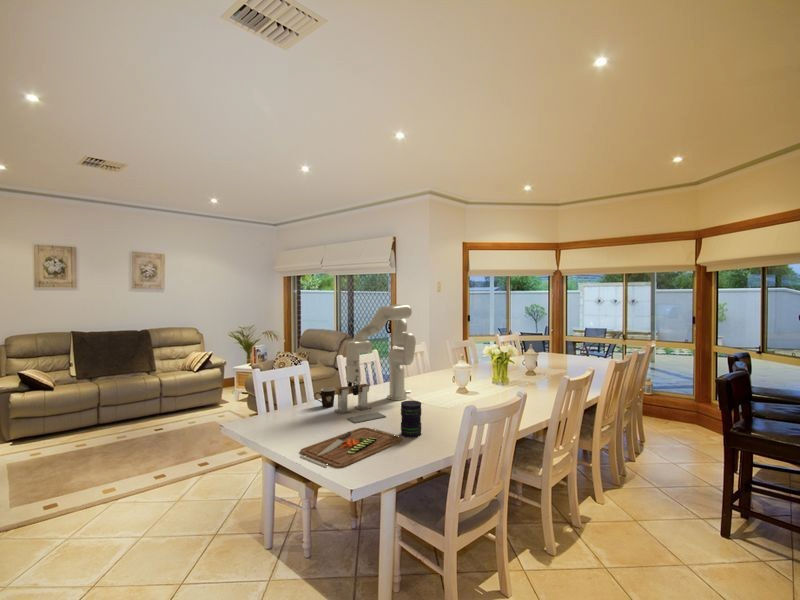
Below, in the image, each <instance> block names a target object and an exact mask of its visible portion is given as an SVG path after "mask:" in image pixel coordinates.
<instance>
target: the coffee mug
mask: <svg viewBox="0 0 800 600" xmlns="http://www.w3.org/2000/svg"><path fill="white" fill-rule="evenodd" d="M317 394H319V395H320V397H321V400H320V399H319V398H317V397H316V395H317ZM335 394H336V388H332V387H324V388H323V387H322V388H321V389H320V392H315V393H314V395H313V397H314V398H315V400H317V402H320V403H321V406H322V408H326V409H328V408H329V409H330V408H333V407H334V404H335V396H336V395H335Z"/></svg>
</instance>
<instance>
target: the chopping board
mask: <svg viewBox="0 0 800 600" xmlns="http://www.w3.org/2000/svg"><path fill="white" fill-rule="evenodd" d="M394 435H395V436H394ZM398 436H399V437H398ZM402 440H404V439H403V438H402V437H400V435H398V434H395V433H391V432H388V431H385V430H381V429H378V428H371V427H370V428H369V427H358V428H357V429H353V430H350V431H347V432H345V433H341V434H339V435H336V436H334V437H331V438H328V439H325V440H322V441H319V442H317V443H314V444H312V445H309V446H305V447H303V448H301V449H300V452H299V453H300V454H301V455H300V456H299V458H301V459H303V460H306V461H308V462H311V463H313V464H315V465H318V466H320V467H322V468H325V469H326V468H328V466H331V467H333V468H337V469H343V468H347V467H349V466H352V465H353V464H355V463H358V462H360V461H362V460H365V459H367V458H369V457H372V456H374V455H375V454H377V453H380V452H383V451H385V450H387V449H389V447H390V448H392V447H393V445H394V446H396V445H398V444H397V443H399V444H401V443H402V442H403V441H402ZM400 442H401V443H400ZM395 444H396V445H395ZM391 446H392V447H391ZM313 459H314V460H313ZM315 460H316V461H315ZM317 461H318V462H317ZM322 463H323V464H322Z"/></svg>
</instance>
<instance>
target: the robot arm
mask: <svg viewBox="0 0 800 600" xmlns="http://www.w3.org/2000/svg"><path fill="white" fill-rule="evenodd" d="M412 312H413V310H412V307H411V306H410V305H408V304H391V305H389V306H386V305H385V306H384V305H383V306H380V307H379V308H378V310H377V311H376V313H375V314H374V316H373V317H372V318H371V320H370V322H369V323H368V324H367V325H365V326H364V327H362V328H361V329H359V331H357V333H356V334H355V335H354V337H353V338H352V340H350V341H347V342H346V344H345V345H346V346H345V347H346V348H345V352H346V355H345V358H346V359H345V360H346V361H345V362H346V363H345V364H346V370H345V380H346V385H347V386H353V387H354V388H353V394H352V395H353V396H358V388H359V385H361V382H362V377H361V367H360V354H369V353H371V351H372V350H373V343H372V342H371V341H369V340H367V339H368V338H369V337H371V336H374V335H376V334H379V333H380V332H381V331H382V330H383V329H384V327H385V325H386V324H387V322H388V321H393V333H392V345H393V346H395V347H397V348H392V349H390V350H389V352H388V354H387V359H388V364H389V365H388V366H389V394H387V396H386V397H387V399H388V400H391V401H403V400H404V401H405V400H406V399H407V398H408V396H407V394H409V395H410V394H411V393H412V392H411V390H405V368H404V366H410V365H412V363H413V362H414V359H415V351H416V343H417V342H416V337H415V335H414V334H413V333H411V332H408V322H407V319H409V318H410V317H411V316H412ZM401 348H403V349H401ZM347 386H346V387H347Z"/></svg>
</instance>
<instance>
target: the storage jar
mask: <svg viewBox="0 0 800 600" xmlns="http://www.w3.org/2000/svg"><path fill="white" fill-rule="evenodd" d="M400 405H401V406H400V416H401V422H400V435H401V436H402V437H403V436H404V438H407V437H409V439H414V438H413V437H416V438H419V437H421V436H422V417H421V416H422V402H420V401H419V400H404V401H403V400H402V402H400ZM420 435H421V436H420ZM418 436H419V437H418Z"/></svg>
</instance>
